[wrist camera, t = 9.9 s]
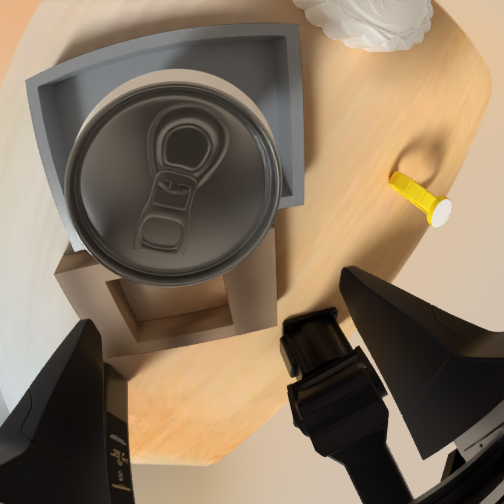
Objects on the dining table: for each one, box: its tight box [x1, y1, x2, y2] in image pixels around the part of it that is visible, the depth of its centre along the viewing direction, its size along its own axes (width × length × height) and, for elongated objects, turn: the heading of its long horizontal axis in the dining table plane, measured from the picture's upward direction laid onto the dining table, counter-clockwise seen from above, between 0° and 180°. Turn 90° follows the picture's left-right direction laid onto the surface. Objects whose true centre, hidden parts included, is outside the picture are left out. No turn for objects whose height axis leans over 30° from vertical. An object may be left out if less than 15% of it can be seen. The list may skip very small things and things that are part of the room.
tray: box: [25, 23, 304, 252], centre depth 15 cm, size 16×12×3 cm
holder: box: [54, 225, 277, 358], centre depth 23 cm, size 17×11×2 cm, turn 94°
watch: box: [388, 171, 452, 228], centre depth 21 cm, size 6×3×6 cm, turn 61°
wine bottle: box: [103, 363, 135, 504], centre depth 17 cm, size 6×6×30 cm
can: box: [64, 69, 282, 288], centre depth 11 cm, size 6×6×12 cm
